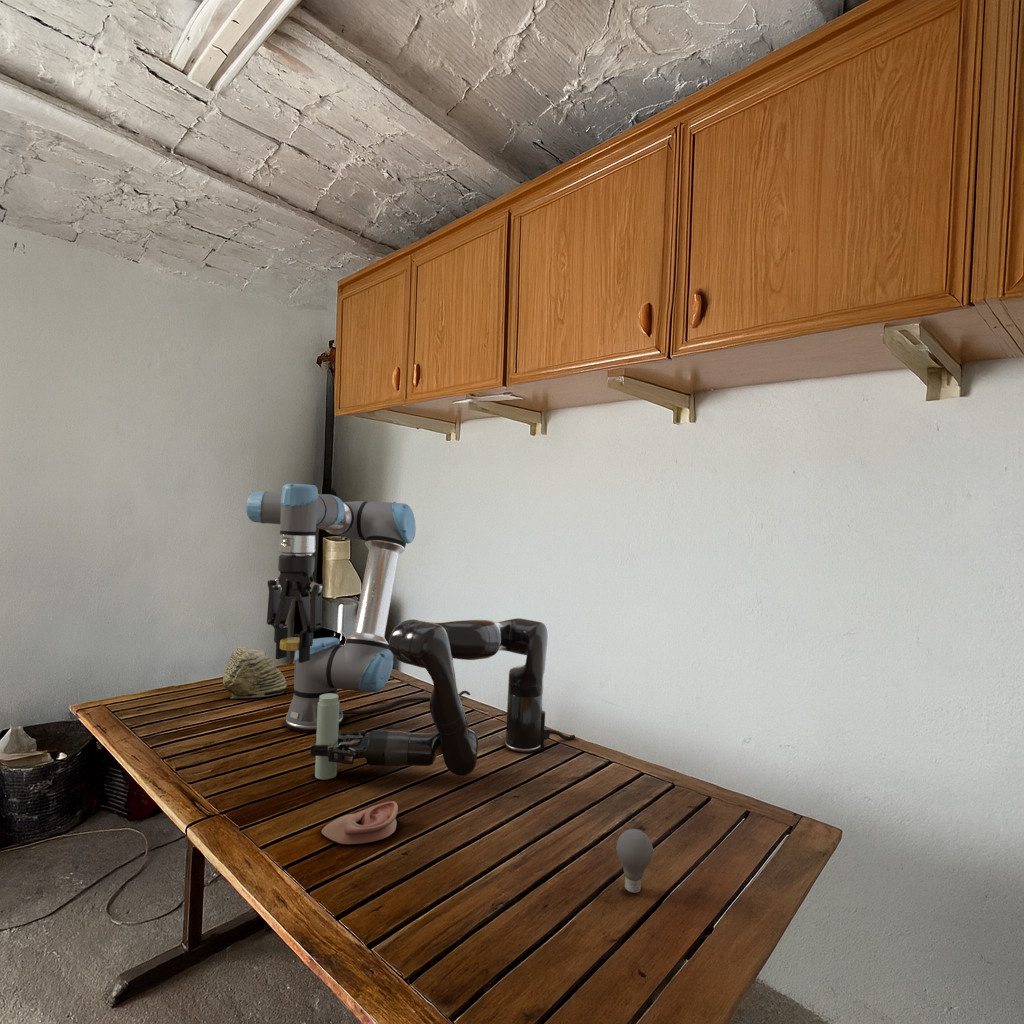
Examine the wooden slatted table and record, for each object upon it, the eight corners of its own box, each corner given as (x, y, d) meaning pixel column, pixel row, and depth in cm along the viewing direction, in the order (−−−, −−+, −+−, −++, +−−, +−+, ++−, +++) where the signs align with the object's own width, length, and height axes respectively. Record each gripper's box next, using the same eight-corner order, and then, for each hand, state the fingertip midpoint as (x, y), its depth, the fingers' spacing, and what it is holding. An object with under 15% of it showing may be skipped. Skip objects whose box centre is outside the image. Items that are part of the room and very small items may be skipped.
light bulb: (610, 879, 108) (613, 822, 108) (644, 879, 109) (647, 822, 109) (619, 902, 102) (622, 840, 102) (655, 901, 103) (658, 840, 103)
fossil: (218, 695, 195) (220, 647, 195) (278, 685, 208) (279, 640, 207) (228, 703, 189) (230, 653, 188) (289, 692, 201) (290, 645, 201)
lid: (312, 646, 141) (312, 638, 141) (296, 652, 136) (296, 643, 135) (290, 644, 143) (290, 636, 143) (273, 649, 137) (274, 641, 137)
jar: (315, 780, 141) (318, 699, 141) (314, 771, 146) (317, 693, 145) (337, 778, 143) (340, 698, 142) (335, 769, 147) (338, 692, 147)
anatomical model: (313, 818, 117) (342, 790, 128) (313, 839, 117) (341, 810, 128) (381, 829, 114) (404, 800, 125) (380, 850, 114) (403, 819, 125)
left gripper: (251, 552, 139) (246, 657, 139) (321, 558, 132) (316, 669, 132) (275, 550, 146) (270, 651, 146) (342, 556, 139) (338, 661, 139)
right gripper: (395, 720, 151) (324, 718, 151) (384, 744, 137) (305, 741, 137) (394, 752, 151) (323, 749, 151) (383, 778, 137) (304, 775, 137)
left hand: (292, 659), depth 139 cm, fingers closed on lid, 5 cm apart
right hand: (315, 745), depth 144 cm, fingers closed on jar, 4 cm apart
